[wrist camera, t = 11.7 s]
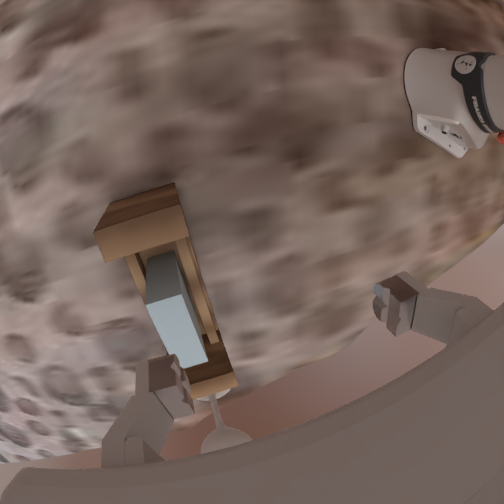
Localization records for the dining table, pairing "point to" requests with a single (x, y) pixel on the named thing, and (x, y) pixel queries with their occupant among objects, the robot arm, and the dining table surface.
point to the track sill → (177, 238)
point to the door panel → (173, 310)
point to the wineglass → (221, 429)
